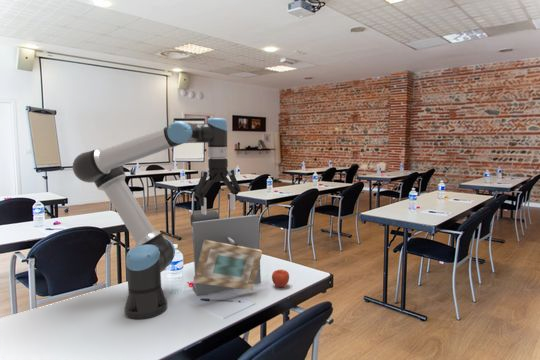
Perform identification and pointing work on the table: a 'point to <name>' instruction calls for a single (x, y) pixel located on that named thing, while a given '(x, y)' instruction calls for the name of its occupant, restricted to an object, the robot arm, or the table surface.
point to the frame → (227, 265)
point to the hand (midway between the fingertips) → (218, 211)
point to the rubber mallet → (204, 216)
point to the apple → (280, 278)
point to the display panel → (225, 241)
